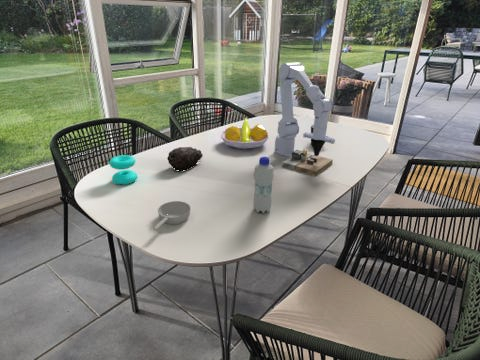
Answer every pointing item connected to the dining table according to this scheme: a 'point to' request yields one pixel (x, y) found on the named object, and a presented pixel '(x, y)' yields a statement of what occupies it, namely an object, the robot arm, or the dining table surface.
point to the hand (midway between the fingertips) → (316, 155)
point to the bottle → (263, 185)
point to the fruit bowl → (245, 136)
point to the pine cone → (184, 158)
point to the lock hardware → (297, 154)
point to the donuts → (123, 175)
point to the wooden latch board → (308, 164)
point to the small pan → (173, 213)
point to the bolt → (304, 155)
